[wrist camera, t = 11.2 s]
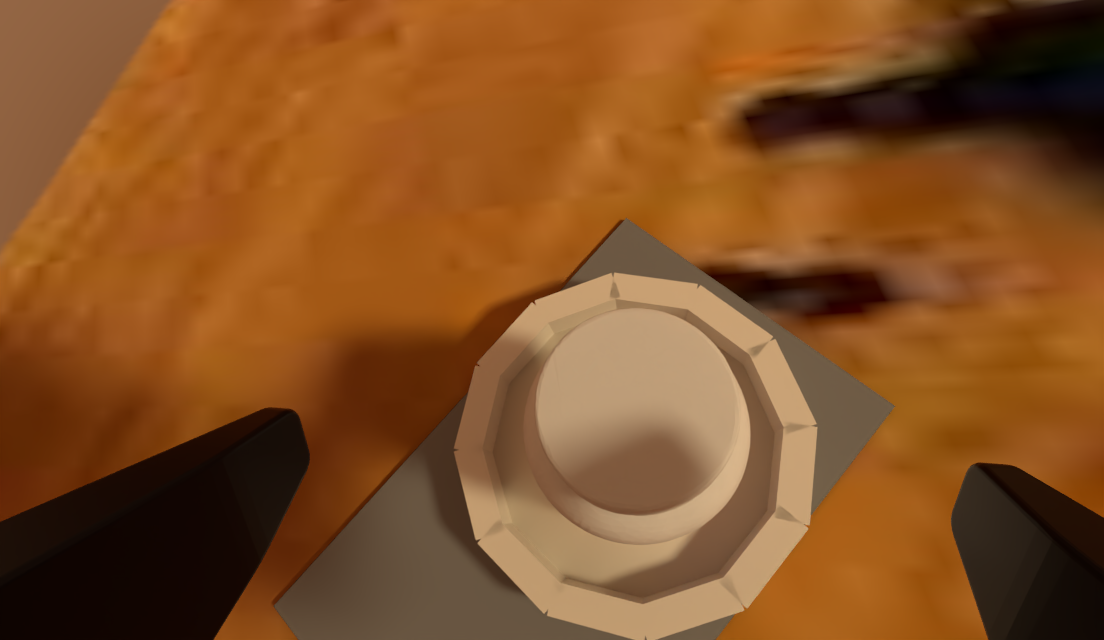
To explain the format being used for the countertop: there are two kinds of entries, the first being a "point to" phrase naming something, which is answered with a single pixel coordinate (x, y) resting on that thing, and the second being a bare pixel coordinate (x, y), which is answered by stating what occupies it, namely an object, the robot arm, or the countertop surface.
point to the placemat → (445, 526)
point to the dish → (624, 569)
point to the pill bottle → (637, 427)
